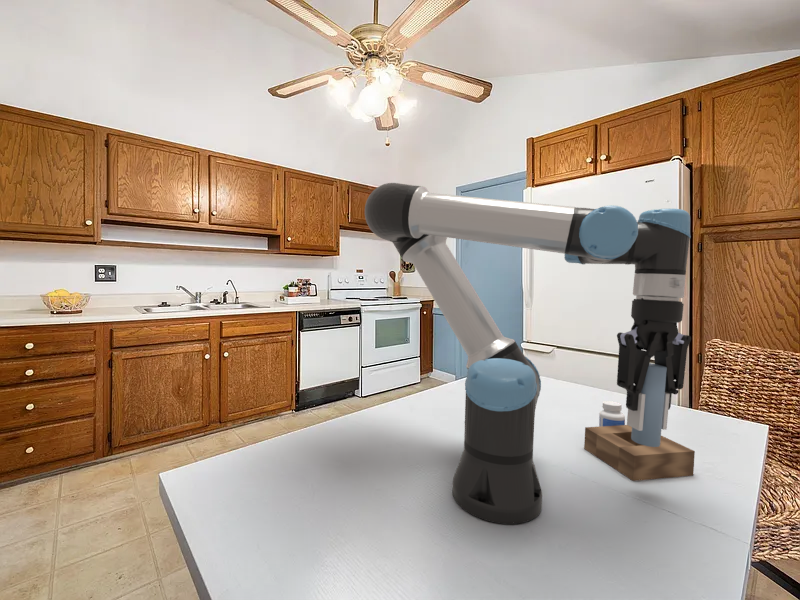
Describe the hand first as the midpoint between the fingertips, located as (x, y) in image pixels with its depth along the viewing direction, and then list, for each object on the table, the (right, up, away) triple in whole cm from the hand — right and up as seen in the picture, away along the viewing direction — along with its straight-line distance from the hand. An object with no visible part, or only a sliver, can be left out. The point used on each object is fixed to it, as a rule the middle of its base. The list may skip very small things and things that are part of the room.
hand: (646, 426), depth 67 cm
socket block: (+6, -12, +13) cm, 18 cm away
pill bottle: (+7, -12, +23) cm, 26 cm away
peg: (0, -3, 0) cm, 3 cm away
